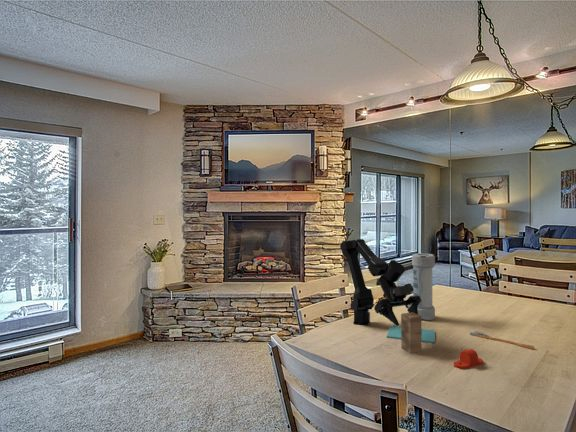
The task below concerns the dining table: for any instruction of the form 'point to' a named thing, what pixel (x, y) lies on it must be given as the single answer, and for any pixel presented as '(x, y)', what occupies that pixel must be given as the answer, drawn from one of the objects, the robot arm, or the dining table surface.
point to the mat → (426, 334)
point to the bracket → (468, 359)
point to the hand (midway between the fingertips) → (408, 323)
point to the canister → (423, 284)
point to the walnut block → (411, 332)
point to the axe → (483, 335)
